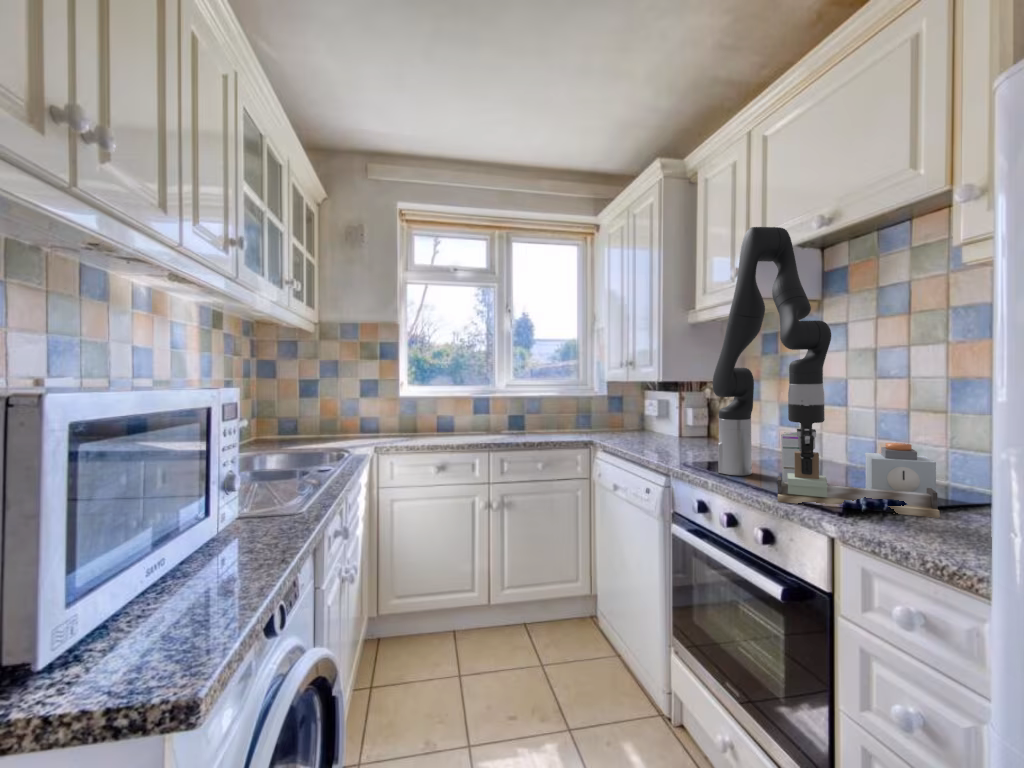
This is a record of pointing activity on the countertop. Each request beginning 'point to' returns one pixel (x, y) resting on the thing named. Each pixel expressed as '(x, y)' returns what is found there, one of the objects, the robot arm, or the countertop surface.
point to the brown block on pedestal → (807, 479)
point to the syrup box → (788, 453)
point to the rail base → (839, 501)
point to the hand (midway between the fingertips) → (806, 472)
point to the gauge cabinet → (900, 471)
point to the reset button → (899, 446)
